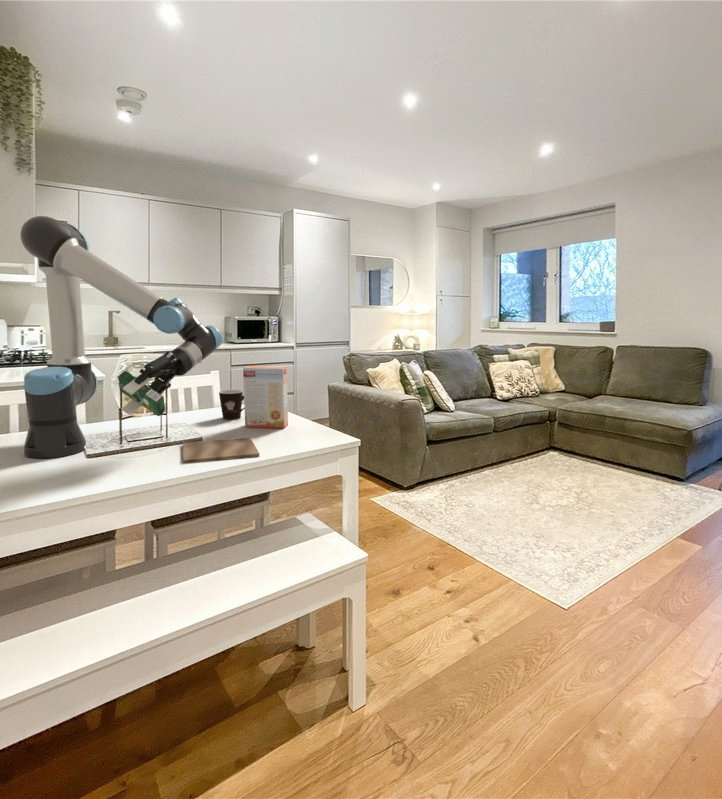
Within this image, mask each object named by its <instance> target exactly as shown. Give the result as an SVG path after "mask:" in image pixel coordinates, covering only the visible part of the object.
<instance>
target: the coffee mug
mask: <svg viewBox="0 0 722 799" xmlns="http://www.w3.org/2000/svg"><path fill="white" fill-rule="evenodd" d="M218 394H219V396H218V397H219V400H220V402H219V403H220V408H221V413H222V419H223V420H224V421H225V420H226V421H234V420H235V421H236V420H239V419H241V418H242V416H241V415H242V411H245V408H244V407H242V406H243V402H244V390H241V389H226V390H225V389H224V390H220V391H218Z"/></svg>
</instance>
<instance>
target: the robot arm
mask: <svg viewBox="0 0 722 799" xmlns="http://www.w3.org/2000/svg"><path fill="white" fill-rule="evenodd" d="M20 240H21V244H22V245H23V247H24V249H25V250H26V251H27V252H28V253H29V254H30V255H31V256H33V257H35V258H37V262H38V269H39V270H40V271H41V272H42V273H43V274H45V285H46V286H45V287H46V294H47V295H46V296H47V306H48V320H49V332H50V345H51V354H52V356H51V357H50V359H49V360H47V362H46V367H42V368H35V369H31V370H29V371H28V372H26V373H25V374H24V377H23V390H24V396H25V404H26V412H27V413H26V414H27V420H28V421H27V422H28V429H27V434H26V438H25V441H24V445H23V451H24V453H23V454H24V456H25V457H27V458H31V459H52V458H60V457H66V456H71V455H75V454H79V453H80V452H82V451H85V450H84V446H85V445H86V446H87V441H86V437H85V436H84V434H83V432H82V430H81V427H80V426H79V423H78V418H77V417H78V416H77V407H78V406H79V405H82V404H85V403H87V402H88V401H89V400H90V399H91V398H93V397H94V395H95V394H96V392H97V389H98V387H99V386H98V385H99V383H98V377H97V376H96V373H95V372H94V371H93V370H92V369H93V368H92V361H91V359H90V358H88V357H87V356H86V354H85V353H86V351H85V350H86V349H85V337H84V323H83V310H82V297H81V296H82V293H81V283H80V282H81V281H83V282H85V283H86V284H88V285H90V286H91V287H93V288H94V289H96V290H98V291H100V292H101V293H103V294H105V296H107V297H109V298H111V299H112V300H114V301H116V302H117V303H119V304H120V305H122V306H124V307H125V308H128V309H129V310H131V311H133V313H135V314H137V315H139V316H140V317H141V318H144V319H146V320H147V321H148V322H150V324H153V325H154V327H155V328H157V330H158V331H160V332H161V333H164V334H168V335H170V334H178V335H179V336H180V338H182V340H183V341H184V342H182V343H181V344H179V345H178V346H177V347H175V348H174V349H172V350H171V351H169V350H167V351H166V352H164V354H163V355H161V356H159V357H157V358H156V359H154V360H152V361H150V362H148V363H146V364H145V365H144V367H143V368H140V370H139V373H140V374H139V375H138V376H137V377H135V379H134V380H133V381H131V382H130V383H128V384H127V385H126V386H124V387H123V390H125V391H126V392H128V393H129V394H131V395H132V394H133V393H135V392H136V391H137V390H139V389H140V388H141V387H143V386H144V385H145V384H146V385H147V384H148V383H149V382H150V379H153V378H154V381H152V382H151V383H150V385H149V387H150V388H151V389H153V390H154V391H156V392H157V393H159V394H160V395H162V394H163V393H164V392H165V391H167V390H168V389H169V388H171V386H172V384H171V383H170V381H171V380H173V379H174V377H176V376H177V377H181V376H184V375H186V374H187V373H188V372H190V371H191V370H192V369H193V368H195V366H198V364H199V363H200V364H201V363H202V361H203V360H205V359H206V358H207V357H208V356H209V355H211V354H212V353H214V352H215V351H216V350H218V348H219V347H220V346H221V345H222V343H223V336H222V333H221V332H220V330H219V329H218V328H216V327H214V325H207V326H205V325H204V324H203V323H202V322H201V321H200V320H199V319H198V317H196V316H195V313H193V312H192V310H190V309H189V306H188V305H187V304H186V303H185V302H183V301H182V300H181V299H180V298H179V297H174V298H172V299H171V300H166V299H165V298H163V297H162V296H160V295H159V294H157V293H155V292H154V291H153V290H151V289H149V288H147V287H146V286H144V285H143V284H141V283H139V282H138V281H136V280H135V279H133V278H131V277H130V276H128V275H126V274H125V273H124V272H122V271H121V270H119V269H117V268H115V267H114V266H113V265H111V264H109V263H107V262H106V261H104V260H103V259H102V258H100V257H98V256H97V255H95V254H93V253H91V252H90V251H89V250H90V249H89V242H88V240H87V238H86V236H85V234H83V232H81V231H80V230H79V229H78V228H76V227H75V226H74V225H72V224H71V223H68V222H64V221H60V220H58V219H55V218H54V217H50V216H46V215H38V216H37V215H36V216H34V217H31V218H29V219H27V220H26V221H25V222H24V223H23V225H22V226H21V228H20ZM80 280H81V281H80ZM162 380H163V381H162ZM141 407H142V405H141V404H139V403H138V402H136V401H135V400H133V399H131V401H129V402H128V403H127V404H125V405H124V406H122V407H121V411H122V412H124V413H125V414H127V415H128V416H131V415H132V414H133V413H135V412H136V411H138V409H140V408H141Z"/></svg>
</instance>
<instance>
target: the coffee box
mask: <svg viewBox="0 0 722 799" xmlns="http://www.w3.org/2000/svg"><path fill="white" fill-rule="evenodd" d="M117 378H118V383H119V390H120V392H121V393H123V394H124V395H125V396H127V397H129V398H130V399H131V400H135V401H136V402H138V403H139V404H141V405H142V406H143V407H144V408H145V409H146V410H148V411H150V412H151V413H153V414H154V415H155V416H157V417H160V416H162V415H163V413H165V412H166V407H165V397H164V396H163V395H162V394H161V395H160V394H159V393H157V392H156V391H154V390H153V389H151V388H150V387H149V386H150V385H149V386H148V385H147V384H145V385H144V386H143V387H141V388H140V389H139V390H137V391H136V392H135V393H133V394H132V395H131V394H129V393H128V392H126V391H125V390H123V387H124V386H126V385H127V384H128V383H130V382H131V381H133V380H134V379H135V378H136V377H135V376H134V375H132V374H131V373H130V372H128V371H127V370H124V371H122V372H121V373H120V374H119V375H118V377H117ZM142 406H141V407H142Z"/></svg>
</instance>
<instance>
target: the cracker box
mask: <svg viewBox="0 0 722 799" xmlns="http://www.w3.org/2000/svg"><path fill="white" fill-rule="evenodd" d="M287 370H288V368H287V366H255V365H254V366H245V367H243V368H242V372H243V396H244V399H243V403H244V404H243V405H244V407H243V408H245V409H244V426H245V427H244V428H263V429H264V428H265V429H266V428H268V429H285V428H286V427H287V426H288V425H289V409H288V407H289V404H288V403H289V402H288V371H287Z"/></svg>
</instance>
